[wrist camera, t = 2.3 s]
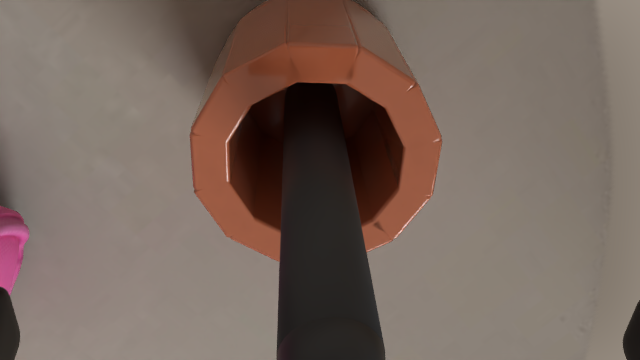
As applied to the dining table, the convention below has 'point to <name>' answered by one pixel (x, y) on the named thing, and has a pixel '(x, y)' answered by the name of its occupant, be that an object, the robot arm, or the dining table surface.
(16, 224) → the pencil case
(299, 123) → the stylus
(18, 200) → the dining table surface
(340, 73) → the pen cup
